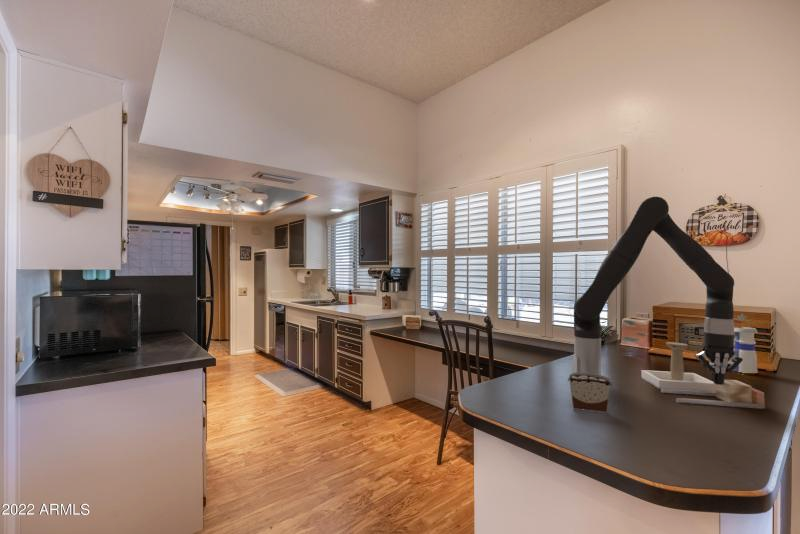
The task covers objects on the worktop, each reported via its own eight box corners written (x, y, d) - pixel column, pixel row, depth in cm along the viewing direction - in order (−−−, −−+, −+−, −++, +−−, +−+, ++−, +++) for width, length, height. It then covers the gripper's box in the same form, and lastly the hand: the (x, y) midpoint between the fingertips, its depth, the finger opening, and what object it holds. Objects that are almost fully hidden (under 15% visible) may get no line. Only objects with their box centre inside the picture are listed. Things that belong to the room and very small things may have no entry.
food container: (608, 406, 113) (608, 374, 113) (613, 413, 107) (612, 379, 107) (565, 401, 117) (565, 370, 117) (567, 408, 111) (567, 375, 111)
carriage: (729, 403, 115) (729, 385, 115) (715, 396, 122) (715, 378, 122) (751, 405, 114) (751, 386, 114) (736, 398, 121) (736, 380, 121)
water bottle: (725, 369, 158) (725, 313, 159) (747, 370, 157) (746, 313, 158) (740, 374, 150) (740, 315, 151) (763, 375, 149) (763, 315, 150)
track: (677, 402, 117) (677, 387, 117) (661, 391, 127) (661, 377, 127) (764, 408, 112) (764, 392, 112) (739, 397, 122) (739, 382, 122)
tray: (659, 389, 130) (659, 380, 130) (641, 378, 144) (641, 370, 145) (718, 393, 126) (717, 383, 127) (694, 381, 140) (694, 373, 141)
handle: (670, 380, 139) (669, 341, 140) (690, 384, 134) (689, 344, 134) (664, 382, 137) (664, 342, 137) (684, 386, 131) (684, 345, 132)
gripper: (734, 331, 121) (733, 382, 121) (689, 328, 124) (688, 378, 124) (750, 335, 114) (749, 389, 114) (702, 332, 117) (701, 385, 117)
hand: (717, 383), depth 119 cm, fingers closed
